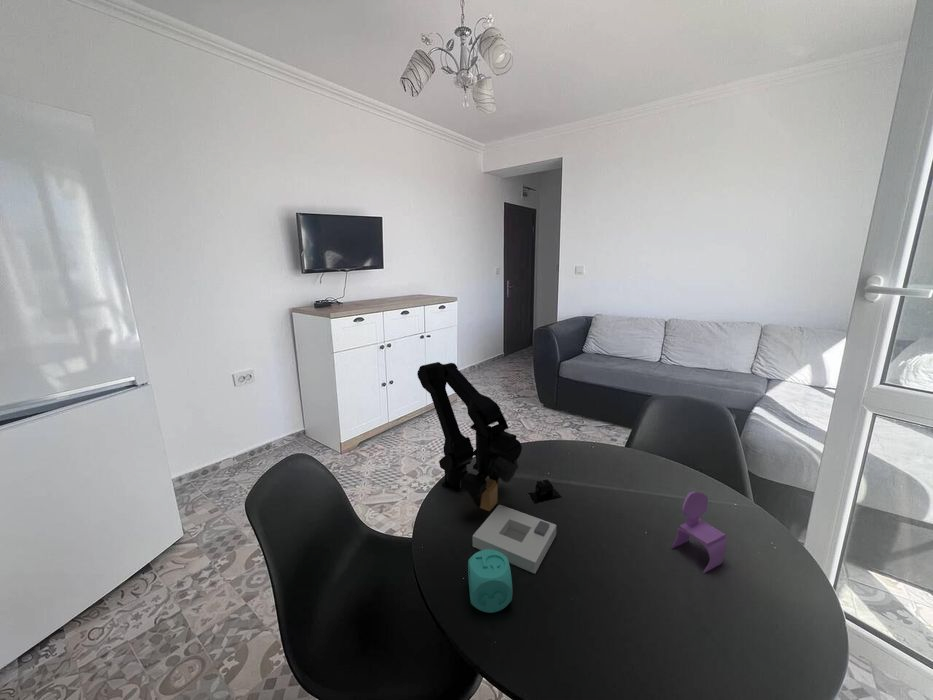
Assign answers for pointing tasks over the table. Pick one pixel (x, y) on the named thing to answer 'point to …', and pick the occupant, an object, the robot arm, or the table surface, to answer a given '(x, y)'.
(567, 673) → the table surface
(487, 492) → the brown block
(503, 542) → the socket plate
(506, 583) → the decorative dice
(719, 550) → the toy chair
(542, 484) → the black angular piece
